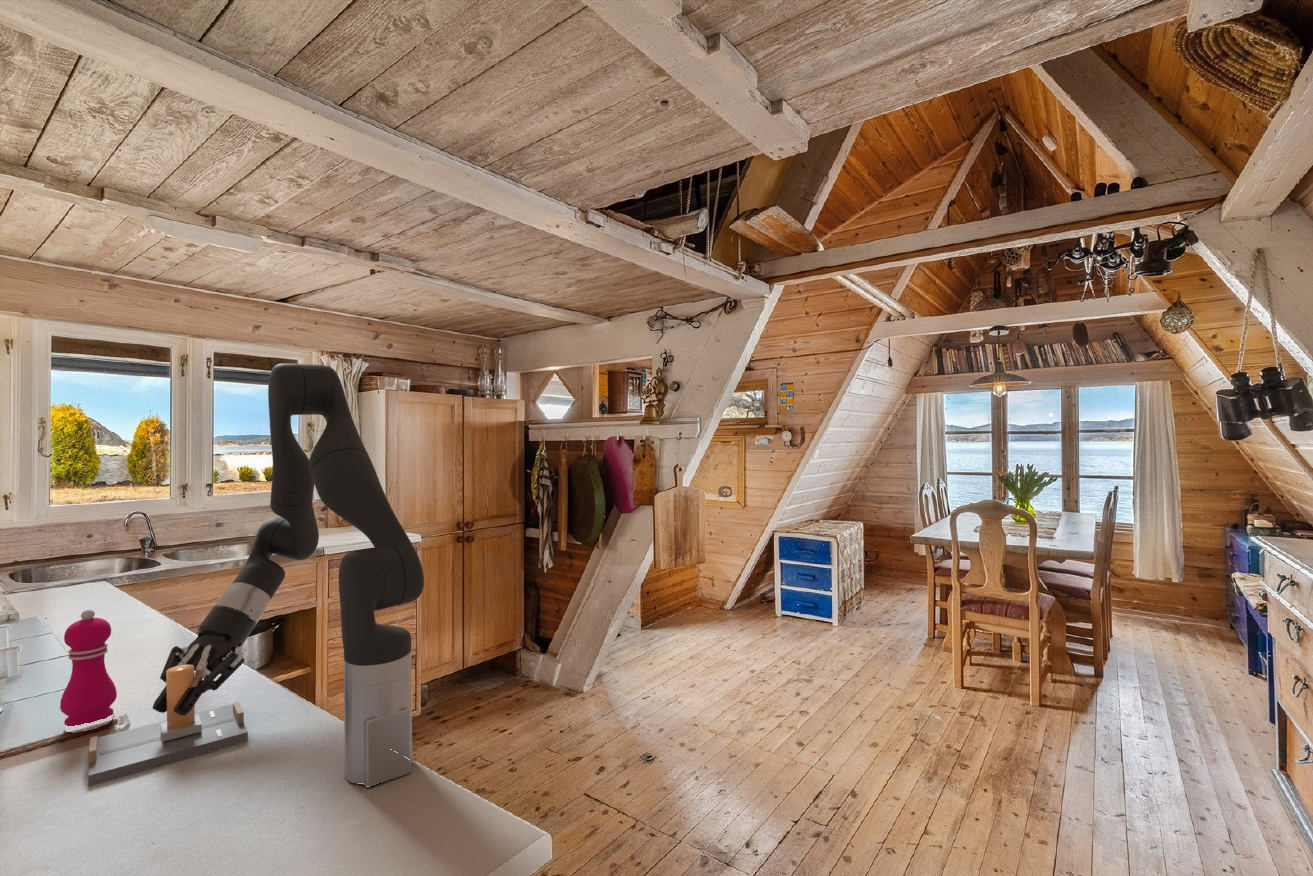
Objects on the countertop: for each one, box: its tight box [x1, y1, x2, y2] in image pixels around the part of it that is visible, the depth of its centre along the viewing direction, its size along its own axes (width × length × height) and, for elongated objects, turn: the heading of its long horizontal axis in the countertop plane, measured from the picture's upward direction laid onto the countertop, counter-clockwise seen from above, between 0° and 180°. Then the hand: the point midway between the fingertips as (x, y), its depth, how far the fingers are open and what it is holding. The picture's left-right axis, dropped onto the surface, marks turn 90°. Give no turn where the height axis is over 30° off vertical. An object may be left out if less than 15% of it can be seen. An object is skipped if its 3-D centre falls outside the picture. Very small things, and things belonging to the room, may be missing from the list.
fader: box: [161, 665, 202, 742], centre depth 101 cm, size 5×5×10 cm
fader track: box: [87, 701, 249, 787], centre depth 100 cm, size 14×19×3 cm
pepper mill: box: [59, 609, 118, 726], centre depth 107 cm, size 7×7×20 cm
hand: (168, 711), depth 99 cm, fingers closed on fader, 3 cm apart
